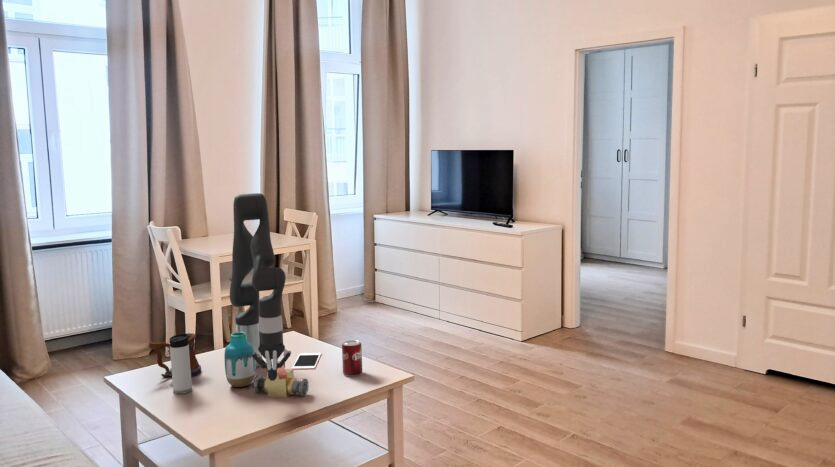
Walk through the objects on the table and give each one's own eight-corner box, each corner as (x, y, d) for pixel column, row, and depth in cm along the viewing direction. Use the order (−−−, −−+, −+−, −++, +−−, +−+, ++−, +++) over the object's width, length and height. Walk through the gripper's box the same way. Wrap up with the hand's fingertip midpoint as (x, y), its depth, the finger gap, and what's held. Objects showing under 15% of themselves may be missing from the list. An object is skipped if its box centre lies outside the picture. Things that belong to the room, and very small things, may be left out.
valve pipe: (253, 394, 229) (252, 369, 227) (262, 388, 234) (261, 363, 233) (301, 399, 224) (299, 373, 222) (308, 392, 229) (307, 367, 228)
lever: (274, 366, 229) (273, 361, 229) (284, 365, 230) (284, 360, 230) (277, 380, 215) (277, 375, 215) (288, 378, 216) (288, 374, 216)
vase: (240, 378, 245) (236, 328, 242) (262, 382, 240) (259, 331, 237) (219, 388, 235) (216, 336, 233) (243, 392, 231) (239, 339, 228)
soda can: (364, 370, 250) (363, 339, 249) (360, 377, 243) (359, 345, 241) (345, 370, 251) (344, 339, 249) (341, 377, 244) (339, 345, 242)
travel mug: (196, 387, 236) (192, 333, 233) (184, 394, 230) (180, 339, 227) (181, 386, 238) (177, 332, 235) (169, 392, 232) (165, 337, 229)
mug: (154, 384, 240) (150, 344, 238) (149, 375, 250) (145, 337, 248) (204, 374, 249) (201, 336, 247) (197, 366, 259) (195, 329, 257)
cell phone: (321, 354, 271) (321, 352, 271) (314, 370, 253) (314, 367, 253) (299, 355, 271) (299, 353, 271) (291, 370, 253) (291, 368, 253)
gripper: (248, 332, 210) (250, 384, 213) (290, 331, 211) (291, 383, 214) (252, 326, 218) (254, 376, 220) (292, 325, 219) (294, 375, 221)
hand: (272, 379), depth 217 cm, fingers closed
